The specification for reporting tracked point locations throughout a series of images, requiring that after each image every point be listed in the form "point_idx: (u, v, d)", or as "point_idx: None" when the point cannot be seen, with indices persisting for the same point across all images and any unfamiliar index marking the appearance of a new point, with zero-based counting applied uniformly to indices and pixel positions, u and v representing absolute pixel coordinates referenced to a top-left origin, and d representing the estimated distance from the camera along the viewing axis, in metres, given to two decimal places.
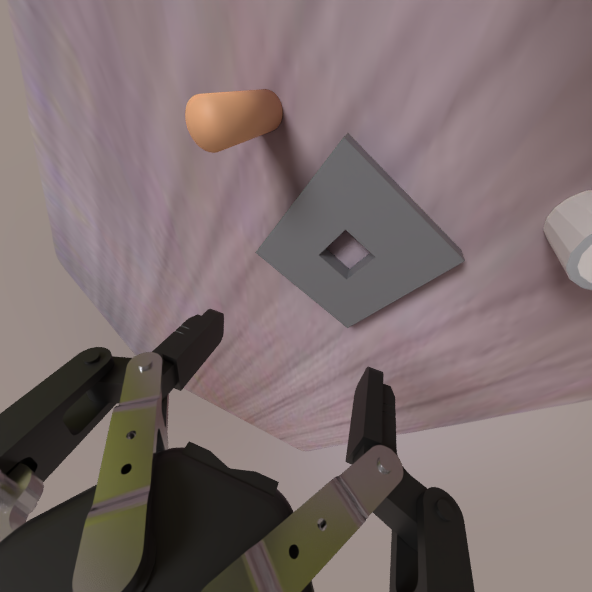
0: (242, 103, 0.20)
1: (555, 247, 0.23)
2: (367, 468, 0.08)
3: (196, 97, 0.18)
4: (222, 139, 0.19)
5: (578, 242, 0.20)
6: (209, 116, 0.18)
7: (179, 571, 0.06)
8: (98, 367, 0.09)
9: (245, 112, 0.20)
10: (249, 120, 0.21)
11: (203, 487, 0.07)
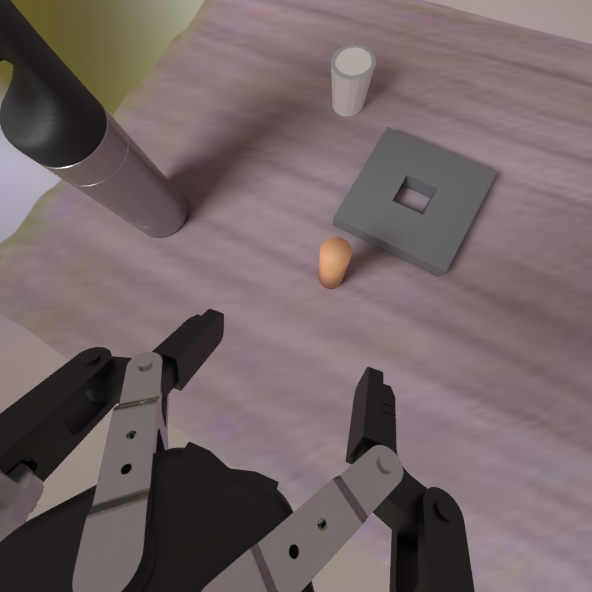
0: None
1: (361, 93, 0.41)
2: (367, 468, 0.08)
3: (322, 257, 0.29)
4: (342, 241, 0.29)
5: (353, 80, 0.38)
6: (330, 249, 0.29)
7: (179, 572, 0.06)
8: (98, 367, 0.09)
9: None
10: None
11: (203, 487, 0.07)
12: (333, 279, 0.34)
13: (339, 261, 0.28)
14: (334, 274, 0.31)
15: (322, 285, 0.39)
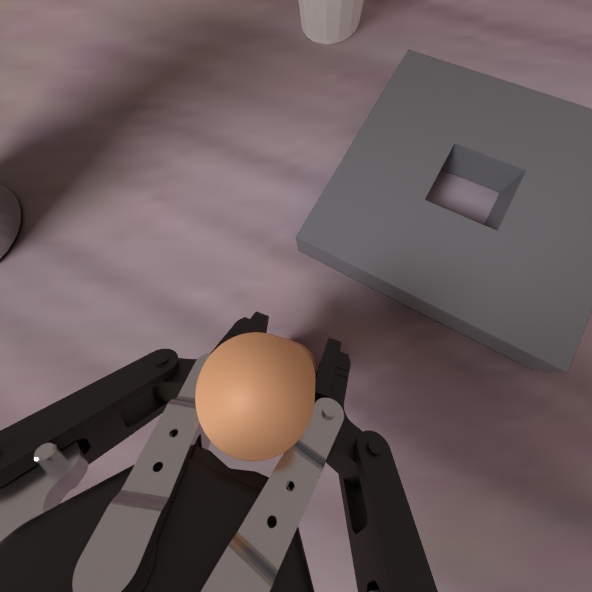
0: None
1: None
2: None
3: (202, 414, 0.07)
4: (278, 351, 0.08)
5: None
6: (236, 382, 0.08)
7: (179, 571, 0.06)
8: (168, 368, 0.10)
9: None
10: None
11: (203, 487, 0.07)
12: None
13: (265, 436, 0.07)
14: None
15: None
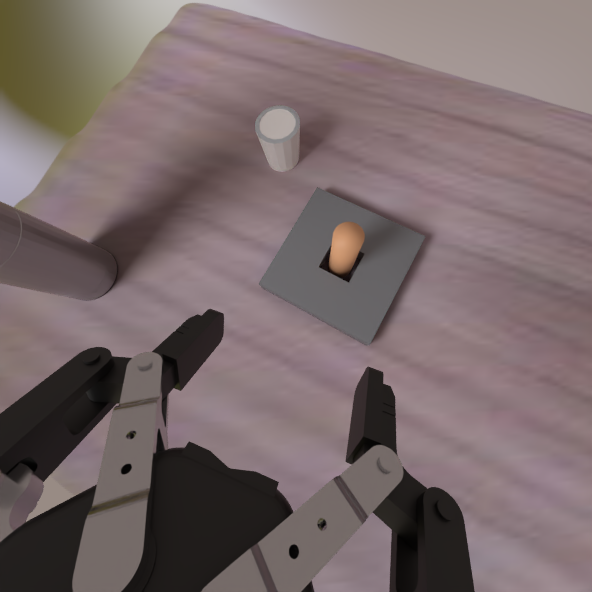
0: None
1: (290, 153, 0.40)
2: (367, 468, 0.08)
3: (335, 241, 0.29)
4: (354, 226, 0.29)
5: (277, 144, 0.37)
6: (343, 233, 0.29)
7: (179, 571, 0.06)
8: (98, 367, 0.09)
9: None
10: None
11: (203, 487, 0.07)
12: (344, 266, 0.34)
13: (352, 245, 0.29)
14: (346, 260, 0.31)
15: None
